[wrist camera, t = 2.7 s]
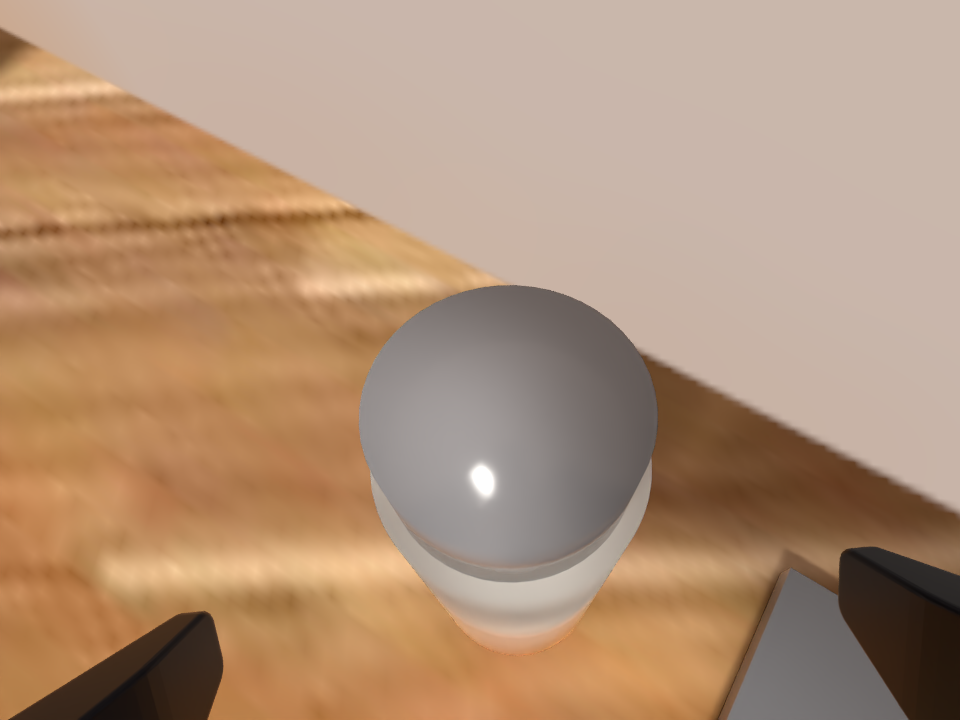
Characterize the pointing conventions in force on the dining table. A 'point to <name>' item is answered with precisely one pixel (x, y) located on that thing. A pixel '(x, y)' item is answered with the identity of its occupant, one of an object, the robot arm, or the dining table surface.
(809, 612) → the slate board
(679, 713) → the dining table surface
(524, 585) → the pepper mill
